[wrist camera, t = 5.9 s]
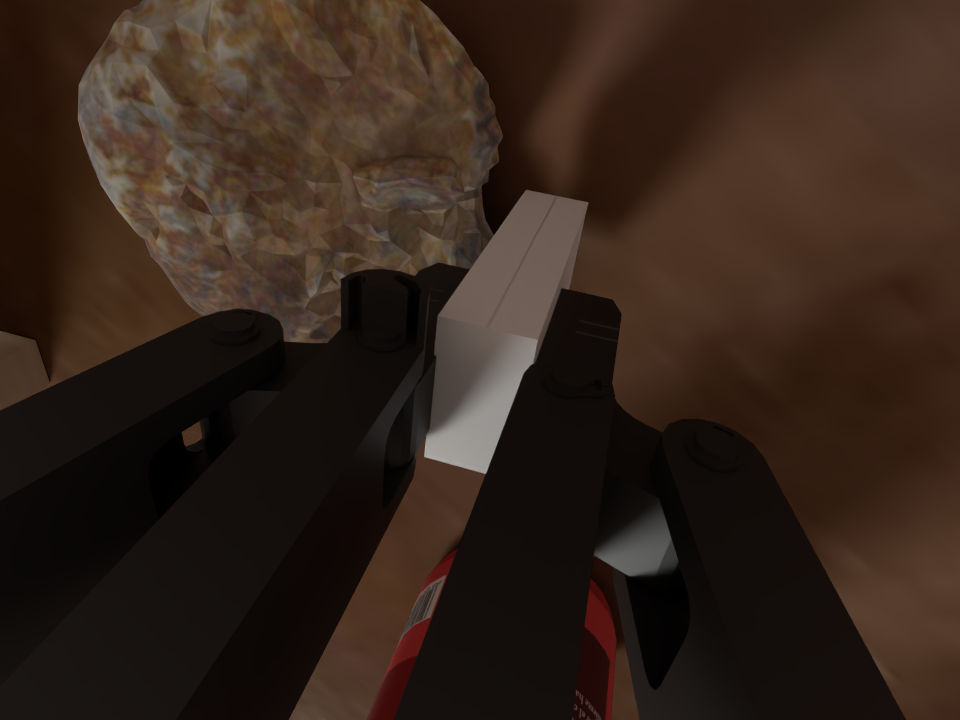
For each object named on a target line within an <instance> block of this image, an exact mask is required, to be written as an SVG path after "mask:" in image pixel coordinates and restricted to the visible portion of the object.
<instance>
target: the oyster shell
mask: <svg viewBox="0 0 960 720" xmlns="http://www.w3.org/2000/svg"><path fill="white" fill-rule="evenodd" d="M78 121H79V125H80V129H81V133H82V137H83V141H84V144H85V146H86V149H87V152H88V154H89V157H90V160H91V162H92V165H93V167H94V170H95V172H96V174H97V177H98V179H99V181H100V184H101V186H102V187H103V189H104V190H105V192H106V193H107V195H108V196H109V198H110V199H111V201H112V202H113V204H114V205H115V207H116V208H117V210H118V211H119V213H120V214H121V215H122V216H123V217H124V219H125V220H126V221H127V222H128V223H129V224H130V226H131V227H132V228H133V229H134V230H135V232H136V233H137V234H138V235H139V236H141V237H142V238H144V240H145V243H146V245H147V248H148V250H149V253H150V255H151V257H152V258H153V259H154V260H155V261H156V262H157V263H158V264H159V265H160V267H161V268H162V269H163V271H164V272H165V274H166V275H167V276H168V278H169V279H170V281H171V282H172V284H173V285H174V286H175V288H176V289H177V291H178V292H179V293H180V295H181V296H182V298H183V299H184V301H185V302H186V303H187V304H188V305H189V306H190V307H192V308H193V309H194V310H195V311H196V312H197V313H199V314H200V315H201V316H202V317H203V316H206V315H209V314H212V313H215V312H218V311H225V310H231V309H244V310H245V309H250V310H256V311H259V312H263V313H267V314H270V315H271V316H273V317H274V318H276V319H277V320H279V321H280V323H281V326H282V328H283V332H284V341H285V342H304V343H327V342H328V341H329V340H330V339H331V338H332V337H333V336H334V335H335V334H336V333H337V332H338V331H339V330H340V329H341V279H342V278H343V277H345V276H347V275H349V274H350V273H353V272H358V271H362V270H366V269H388V270H395V271H401V272H404V273H407V274H410V275H413V276H415V275H416V274H417V273H418V272H419V271H420V270H421V269H424V268H426V267H428V266H431V265H433V264H436V263H438V262H439V263H444V264H448V265H453V266H457V267H461V268H466V269H471V268H472V266H473V265H474V263H475V262H476V260H477V259H478V258H479V256H480V255H481V253H482V252H483V250H484V249H485V248H486V246H487V245H488V243H489V242H490V240H491V239H492V238H493V236H494V235H493V233H492V231H491V229H490V227H489V225H488V223H487V222H486V220H485V215H484V209H483V202H482V185H483V184H485V183H487V182H488V180H489V169H491V168H492V167H493V166H495V165H496V164H497V163H499V155H498V145H499V143H500V142H501V140H502V138H503V134H502V131H501V129H500V126H499V123H498V121H497V118H496V116H495V105H494V103H493V101H492V99H491V98H490V95H489V84H488V83H487V81H486V79H485V78H484V76H483V75H482V74H481V72H480V71H479V70H478V69H477V68H476V67H475V66H474V65H473V63H472V61H471V59H470V58H469V56H468V54H467V52H466V50H465V49H464V47H463V46H462V44H461V43H460V42H459V41H458V40H457V39H456V38H455V37H454V35H453V34H452V33H451V32H450V31H449V30H448V29H447V28H446V26H445V25H444V24H443V23H442V22H441V20H440V19H439V18H438V17H437V15H436V14H435V13H434V12H433V11H432V10H431V9H429V8H428V7H427V6H426V5H425V4H424V3H423V2H421V1H420V0H143V1H142V2H140V3H139V4H138V5H137V6H136V7H133V8H130V9H127V10H124V11H123V13H122V14H121V15H120V16H119V18H118V19H117V20H116V22H115V23H114V25H113V27H112V29H111V31H110V33H109V35H108V37H107V39H106V40H105V42H104V43H103V45H102V46H101V48H100V49H99V51H98V52H97V54H96V55H95V57H94V58H93V60H92V61H91V62H90V64H89V65H88V67H87V69H86V71H85V73H84V75H83V77H82V79H81V82H80V84H79V96H78Z"/></svg>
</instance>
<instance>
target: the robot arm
mask: <svg viewBox="0 0 960 720" xmlns="http://www.w3.org/2000/svg"><path fill="white" fill-rule="evenodd" d="M587 207H588V202H584V201H579V200H574V199H569V198H564V197H559V196H554V195H549V194H544V193H540V192H535V191H530V190H525V192H524V193H523V195H522V196H521V198H520V199H519V200H518V202H517V203H516V205H515V206H514V208H513V209H512V210H511V212H510V213H509V215H508V216H507V218H506V219H505V220H504V222H503V223H502V225H501V226H500V228H499V229H498V230H497V232H496V233H495V235H494V236H493V238H492V239H491V240H490V242H489V243H488V245H487V246H486V248H485V249H484V250H483V252H482V253H481V255H480V256H479V258H478V259H477V260H476V262H475V263H474V265H473V266H472V268H471V269H466V268H461V267H457V266H453V265H448V264H444V263H439V262H438V263H436V264H433V265H431V266H428V267H426V268H424V269H421V270H420V271H419V272H418V273H417V274H416V275H415V276H413V275H410V274H407V273H404V272H401V271H395V270H388V269H366V270H362V271H358V272H353V273H350V274H349V275H347V276H345V277H343V278H342V279H341V329H340V330H339V331H338V332H337V333H336V334H335V335H334V336H333V337H332V338H331V339H330V340H329V341H328V342H327V343H304V342H285V341H284V332H283V328H282V326H281V323H280V321H279V320H277V319H276V318H274V317H273V316H271V315H270V314H267V313H263V312H259V311H256V310H250V309H245V310H244V309H231V310H225V311H218V312H215V313H212V314H209V315H206V316H203V317H201V318H199V319H196V320H194V321H192V322H190V323H188V324H186V325H183V326H181V327H179V328H177V329H175V330H173V331H171V332H168V333H166V334H164V335H162V336H160V337H158V338H155V339H153V340H151V341H149V342H147V343H145V344H142V345H140V346H138V347H136V348H134V349H132V350H129V351H127V352H125V353H123V354H121V355H119V356H117V357H114V358H112V359H110V360H108V361H106V362H104V363H101V364H99V365H97V366H95V367H93V368H91V369H88V370H86V371H84V372H82V373H80V374H78V375H75V376H73V377H71V378H69V379H67V380H65V381H63V382H60V383H58V384H56V385H54V386H52V387H50V388H47V389H45V390H43V391H41V392H39V393H37V394H34V395H32V396H30V397H28V398H26V399H24V400H21V401H19V402H17V403H15V404H13V405H11V406H9V407H6V408H4V409H2V410H0V720H289V718H290V716H291V714H292V712H293V710H294V708H295V706H296V704H297V702H298V701H299V699H300V697H301V695H302V693H303V691H304V689H305V687H306V685H307V683H308V681H309V679H310V677H311V675H312V673H313V671H314V669H315V667H316V666H317V664H318V662H319V660H320V658H321V656H322V654H323V652H324V650H325V648H326V646H327V644H328V642H329V640H330V638H331V636H332V634H333V633H334V631H335V629H336V627H337V625H338V623H339V621H340V619H341V617H342V615H343V613H344V611H345V609H346V607H347V605H348V603H349V601H350V599H351V598H352V596H353V594H354V592H355V590H356V588H357V586H358V584H359V582H360V580H361V578H362V576H363V574H364V572H365V570H366V568H367V566H368V565H369V563H370V561H371V559H372V557H373V555H374V553H375V551H376V549H377V547H378V545H379V543H380V541H381V539H382V537H383V535H384V533H385V532H386V530H387V528H388V526H389V524H390V522H391V520H392V518H393V516H394V514H395V512H396V510H397V508H398V506H399V504H400V502H401V500H402V498H403V497H404V495H405V493H406V491H407V489H408V487H409V485H410V483H411V481H412V479H413V476H414V471H415V465H416V453H417V451H418V449H419V447H420V445H421V443H422V442H423V440H424V438H425V436H426V444H425V455H424V457H427V458H430V459H434V460H438V461H441V462H445V463H448V464H452V465H456V466H459V467H463V468H466V469H470V470H474V471H478V472H481V473H485V474H486V475H485V478H484V480H483V483H482V485H481V488H480V491H479V493H478V496H477V499H476V501H475V504H474V507H473V509H472V512H471V515H470V517H469V520H468V523H467V525H466V528H465V531H464V533H463V536H462V539H461V541H460V544H459V547H458V549H457V552H456V555H455V557H454V560H453V563H452V565H451V568H450V571H449V573H448V576H447V578H446V581H445V584H444V586H443V589H442V592H441V594H440V597H439V600H438V602H437V605H436V608H435V610H434V613H433V616H432V618H431V621H430V624H429V626H428V629H427V632H426V634H425V637H424V640H423V642H422V645H421V648H420V650H419V653H418V656H417V658H416V661H415V663H414V666H413V669H412V671H411V674H410V677H409V679H408V682H407V685H406V687H405V690H404V693H403V695H402V698H401V701H400V703H399V706H398V709H397V711H396V714H395V717H394V719H393V720H572V717H573V709H574V702H575V694H576V687H577V679H578V672H579V664H580V656H581V649H582V641H583V634H584V626H585V619H586V611H587V604H588V596H589V588H590V581H591V573H592V566H593V558H594V556H596V557H598V558H599V559H601V560H603V561H604V562H606V563H608V564H609V565H611V566H613V582H614V587H615V593H616V598H617V603H618V608H619V614H620V619H621V624H622V629H623V635H624V640H625V645H626V650H627V656H628V661H629V666H630V672H631V677H632V682H633V687H634V693H635V698H636V703H637V708H638V714H639V719H640V720H906V719H905V717H904V715H903V714H902V712H901V710H900V708H899V706H898V704H897V702H896V701H895V699H894V697H893V695H892V693H891V691H890V690H889V688H888V686H887V684H886V682H885V680H884V678H883V677H882V675H881V673H880V671H879V669H878V667H877V666H876V664H875V662H874V660H873V658H872V656H871V654H870V653H869V651H868V649H867V647H866V645H865V643H864V641H863V640H862V638H861V636H860V634H859V632H858V630H857V629H856V627H855V625H854V623H853V621H852V619H851V617H850V616H849V614H848V612H847V610H846V608H845V606H844V605H843V603H842V601H841V599H840V597H839V595H838V593H837V592H836V590H835V588H834V586H833V584H832V582H831V581H830V579H829V577H828V575H827V573H826V571H825V569H824V568H823V566H822V564H821V562H820V560H819V558H818V557H817V555H816V553H815V551H814V549H813V547H812V545H811V544H810V542H809V540H808V538H807V536H806V534H805V533H804V531H803V529H802V527H801V525H800V523H799V521H798V520H797V518H796V516H795V514H794V512H793V510H792V508H791V507H790V505H789V503H788V501H787V499H786V497H785V496H784V494H783V492H782V490H781V488H780V486H779V484H778V483H777V481H776V479H775V477H774V475H773V473H772V472H771V470H770V468H769V466H768V464H767V462H766V460H765V459H764V457H763V456H762V454H761V453H760V452H759V451H758V449H757V448H756V447H755V446H754V444H753V443H751V442H750V441H749V440H747V439H746V438H745V437H743V436H742V435H740V434H739V433H738V432H736V431H734V430H732V429H730V428H728V427H725V426H723V425H721V424H718V423H714V422H710V421H705V420H701V419H681V420H679V421H676V422H674V423H671V424H669V425H668V426H667V428H666V429H665V430H664V432H663V433H662V432H660V431H658V430H656V429H654V428H652V427H649V426H647V425H645V424H644V423H642V422H640V421H638V420H637V419H635V418H633V417H632V416H631V415H630V414H628V413H627V412H626V411H625V410H623V408H622V407H621V406H620V405H619V404H618V403H617V401H616V400H615V394H614V389H613V385H612V379H613V372H614V365H615V358H616V351H617V344H618V337H619V329H620V322H621V315H622V314H621V312H620V311H619V309H618V307H617V306H616V304H615V303H614V301H613V300H612V299H608V298H603V297H599V296H595V295H590V294H586V293H581V292H577V291H572V290H569V287H570V282H571V278H572V273H573V269H574V264H575V260H576V256H577V251H578V247H579V242H580V238H581V233H582V229H583V224H584V220H585V215H586V211H587ZM199 421H200V426H201V432H202V438H203V439H201V440H200V441H198V442H197V443H194V444H192V445H189V446H187V447H185V445H184V442H183V437H182V432H183V431H184V430H186V429H187V428H189V427H191V426H192V425H194V424H195V423H197V422H199Z"/></svg>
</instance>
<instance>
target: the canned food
mask: <svg viewBox="0 0 960 720" xmlns="http://www.w3.org/2000/svg"><path fill="white" fill-rule="evenodd" d="M457 549H458V548H457ZM457 549H456V550H454V551H452V552H450V553H449V554H448V555H447V556H446V557H445V558H444V559H443V560H442V561H441V562H440V563H439V564H438V565H437V566H436V567H435V568H434V569H433V571H432V572H431V573H430V574H429V575H428V577H427V578H426V580H425V582H424V584H423V586H422V588H421V590H420V593H419V595H418V597H417V600H416V602H415V605H414V607H413V609H412V612H411V614H410V617H409V619H408V621H407V624H406V626H405V629H404V631H403V633H402V636H401V638H400V641H399V643H398V645H397V648H396V650H395V653H394V655H393V657H392V660H391V662H390V665H389V667H388V669H387V672H386V674H385V677H384V679H383V681H382V684H381V686H380V689H379V691H378V693H377V696H376V698H375V701H374V703H373V705H372V708H371V710H370V713H369V715H368V717H367V720H393V719H394V717H395V714H396V711H397V709H398V706H399V703H400V701H401V698H402V695H403V693H404V690H405V687H406V685H407V682H408V679H409V677H410V674H411V671H412V669H413V666H414V663H415V661H416V658H417V656H418V653H419V650H420V648H421V645H422V642H423V640H424V637H425V634H426V632H427V629H428V626H429V624H430V621H431V618H432V616H433V613H434V610H435V608H436V605H437V602H438V600H439V597H440V594H441V592H442V589H443V586H444V584H445V581H446V578H447V576H448V573H449V571H450V568H451V565H452V563H453V560H454V557H455V555H456V552H457ZM616 643H617V641H616V634H615V627H614V623H613V619H612V615H611V611H610V608H609V605H608V603H607V601H606V598H605V596H604V594H603V593H602V592H601V590H600V589H599V587H598V586H597V584H596V583H595V582H594V581H593V580H592V579H591V581H590V588H589V596H588V604H587V611H586V619H585V626H584V634H583V641H582V649H581V656H580V664H579V672H578V679H577V687H576V694H575V702H574V709H573V717H572V720H611V712H612V699H613V685H614V671H615V657H616Z"/></svg>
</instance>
